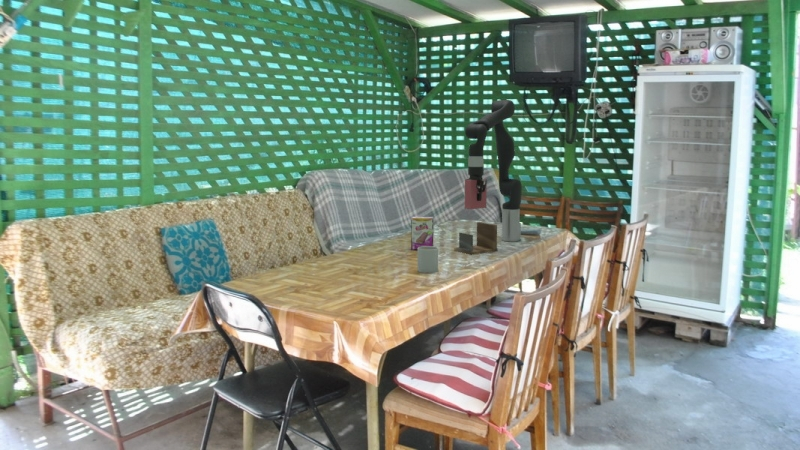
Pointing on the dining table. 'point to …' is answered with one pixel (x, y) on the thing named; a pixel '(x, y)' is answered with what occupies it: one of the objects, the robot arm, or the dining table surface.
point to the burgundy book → (474, 195)
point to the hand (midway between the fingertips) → (475, 200)
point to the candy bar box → (422, 232)
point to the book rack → (479, 240)
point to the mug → (427, 259)
